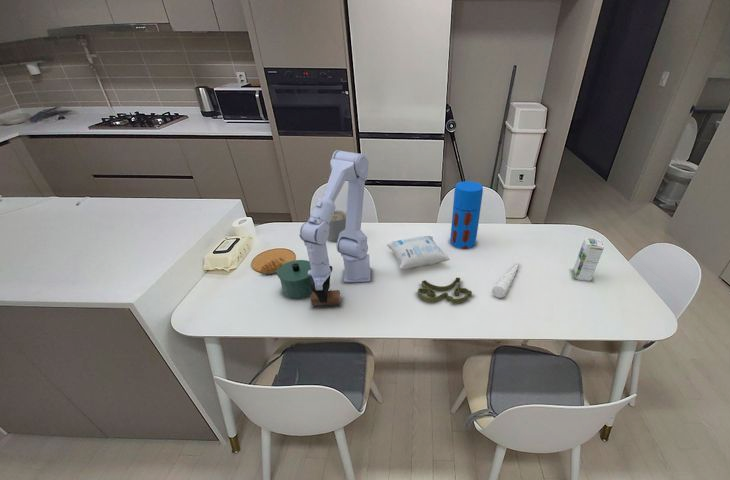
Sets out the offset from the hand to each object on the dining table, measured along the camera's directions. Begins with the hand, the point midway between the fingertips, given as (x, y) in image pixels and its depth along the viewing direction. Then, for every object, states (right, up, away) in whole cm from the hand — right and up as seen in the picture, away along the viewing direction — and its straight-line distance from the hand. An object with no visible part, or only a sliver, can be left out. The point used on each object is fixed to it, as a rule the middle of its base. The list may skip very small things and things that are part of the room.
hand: (325, 294), depth 114 cm
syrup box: (+92, +6, +16) cm, 93 cm away
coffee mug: (-2, +24, +39) cm, 46 cm away
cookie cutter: (+40, 0, +7) cm, 40 cm away
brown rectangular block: (0, -3, +2) cm, 4 cm away
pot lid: (-11, +8, +4) cm, 14 cm away
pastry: (-23, +9, +18) cm, 31 cm away
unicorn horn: (+63, +4, +13) cm, 65 cm away
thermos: (+51, +21, +35) cm, 65 cm away
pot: (-11, +2, +9) cm, 14 cm away
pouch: (+31, +13, +24) cm, 41 cm away
